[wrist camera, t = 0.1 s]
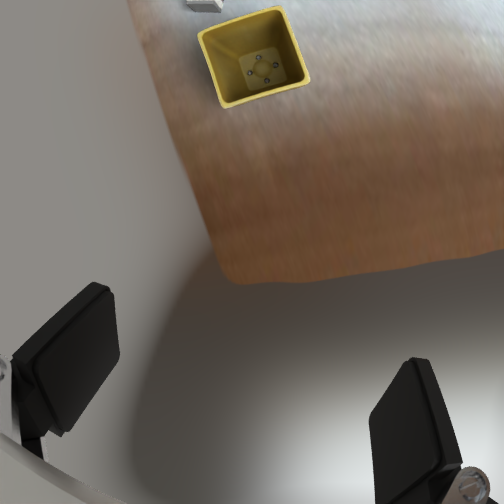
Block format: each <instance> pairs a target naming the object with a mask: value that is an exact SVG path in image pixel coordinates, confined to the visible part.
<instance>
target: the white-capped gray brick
mask: <svg viewBox="0 0 504 504" xmlns="http://www.w3.org/2000/svg"><path fill="white" fill-rule="evenodd" d="M186 4H187V5H188V6H189V7H190V8H191V9H193V10H194V11H195V12H219V13H221V9H222V7H223V0H187V3H186Z"/></svg>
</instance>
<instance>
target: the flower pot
mask: <svg viewBox="0 0 504 504" xmlns="http://www.w3.org/2000/svg"><path fill="white" fill-rule="evenodd" d="M197 38H198V40H199V43H200V46H201V48H202V51H203V53H204V56H205V59H206V62H207V64H208V67H209V70H210V73H211V76H212V79H213V82H214V86H215V89H216V92H217V95H218V99H219V102H220V104H221V106H222V107H223V108H230V107H234V106H238V105H241V104H244V103H247V102H250V101H253V100H256V99H259V98H263V97H266V96H269V95H273V94H276V93H280V92H284V91H287V90H291V89H296V88H299V87H302V86H305V85H307V84H308V83H310V76H309V73H308V70H307V68H306V65H305V62H304V60H303V57H302V54H301V52H300V49H299V46H298V44H297V41H296V38H295V36H294V33H293V31H292V28H291V25H290V23H289V20H288V17H287V15H286V13H285V11H284V9H283V7H282V6H273V7H270V8H266V9H263V10H259V11H256V12H253V13H250V14H247V15H244V16H241V17H238V18H235V19H232V20H229V21H226V22H223V23H220V24H217V25H215V26H212V27H209V28H206V29H204V30H202V31H201V32H199V33H198V34H197ZM257 56H261V59H259V60H258V59H257V58H256V57H257ZM274 63H277V64H278V67H274V66H273V65H274ZM248 71H252V74H251V75H249V74H248ZM265 79H269V82H268V83H266V82H265Z"/></svg>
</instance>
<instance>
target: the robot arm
mask: <svg viewBox="0 0 504 504" xmlns="http://www.w3.org/2000/svg"><path fill="white" fill-rule="evenodd" d="M12 356H13V359H12V360H11V361H9V360H8V358H6V357H5V356H4V355H1V354H0V504H127V503H124V502H122V501H120V500H117V499H115V498H113V497H111V496H108V495H106V494H104V493H102V492H100V491H98V490H96V489H94V488H92V487H90V486H88V485H86V484H84V483H82V482H80V481H78V480H76V479H75V478H73V477H71V476H69V475H67V474H66V473H64V472H62V471H60V470H59V469H57V468H55V467H53V466H52V465H50V464H49V460H48V455H47V449H46V443H45V434H46V433H47V431H48V430H49V431H51V432H53V433H54V434H56V435H58V436H59V437H62V435H63V434H64V432H69V431H70V430H71V429H72V427H73V426H74V424H75V423H76V421H77V420H78V419H79V417H80V416H81V414H82V413H83V411H84V410H85V408H86V407H87V405H88V404H89V402H90V401H91V399H92V398H93V397H94V395H95V394H96V392H97V391H98V389H99V388H100V386H101V385H102V384H103V382H104V381H105V379H106V378H107V377H108V375H109V374H110V372H111V371H112V370H113V368H114V367H115V365H116V364H117V362H118V360H119V356H120V351H119V344H118V334H117V325H116V314H115V302H114V294H113V293H112V292H111V291H110V288H109V287H108V286H105V285H102V284H99V283H96V282H92V283H90V284H89V285H88V286H87V287H85V288H84V289H83V290H82V291H81V292H80V293H78V294H77V295H76V296H75V297H74V298H73V299H72V300H70V301H69V302H68V303H67V304H66V305H65V306H64V307H63V308H61V309H60V310H59V311H58V312H57V313H56V314H55V315H54V316H53V317H52V318H50V319H49V320H48V321H47V322H46V323H45V324H44V325H43V326H42V327H41V328H40V329H39V330H38V331H37V332H36V333H34V334H33V335H32V336H31V337H30V338H29V339H28V340H27V341H26V342H25V343H24V344H23V345H22V346H21V347H20V348H19V349H18V350H17V351H16V352H15V353H14V354H13V355H12ZM369 429H370V439H371V449H372V460H373V473H374V486H375V487H374V488H375V504H498V503H497V502H495V501H494V500H493V499H491V498H490V497H489V493H490V483H489V480H488V478H487V476H486V474H485V473H484V472H483V471H482V470H480V469H478V468H476V467H470V466H469V467H465V468H463V469H461V464H462V463H463V461H462V457H461V453H460V450H459V446H458V443H457V439H456V436H455V433H454V429H453V426H452V423H451V420H450V417H449V414H448V411H447V408H446V405H445V402H444V399H443V396H442V393H441V391H440V388H439V385H438V383H437V380H436V377H435V374H434V372H433V369H432V367H431V364H430V362H429V360H427V359H422V358H415V357H412V358H410V359H409V360H408V361H405V362H404V363H403V364H402V366H401V368H400V369H399V371H398V373H397V374H396V376H395V377H394V379H393V381H392V382H391V384H390V385H389V387H388V388H387V390H386V391H385V393H384V394H383V396H382V398H381V399H380V400H379V402H378V403H377V405H376V406H375V408H374V409H373V411H372V412H371V414H370V417H369Z"/></svg>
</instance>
